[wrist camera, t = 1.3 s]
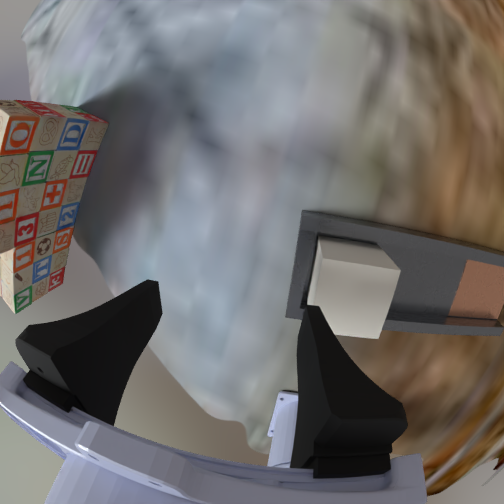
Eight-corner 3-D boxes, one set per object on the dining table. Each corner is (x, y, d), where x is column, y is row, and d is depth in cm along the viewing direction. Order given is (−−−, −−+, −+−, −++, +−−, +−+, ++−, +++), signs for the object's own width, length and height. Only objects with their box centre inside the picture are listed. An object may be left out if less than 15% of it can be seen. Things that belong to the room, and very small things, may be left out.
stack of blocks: (64, 284, 29) (-3, 327, 17) (38, 258, 29) (-27, 292, 17) (110, 121, 22) (7, 114, 10) (77, 105, 21) (-14, 98, 10)
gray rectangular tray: (490, 324, 20) (500, 335, 18) (287, 303, 23) (285, 317, 21) (515, 255, 17) (528, 262, 15) (301, 210, 21) (301, 215, 19)
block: (364, 301, 21) (378, 338, 16) (307, 293, 22) (307, 330, 17) (378, 245, 20) (400, 270, 15) (318, 235, 20) (322, 258, 15)
